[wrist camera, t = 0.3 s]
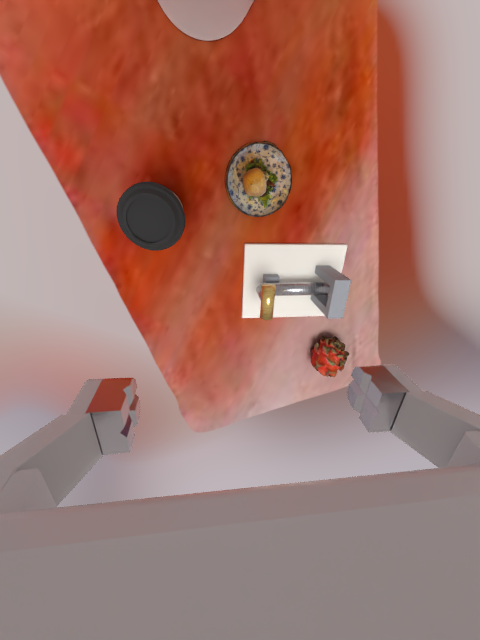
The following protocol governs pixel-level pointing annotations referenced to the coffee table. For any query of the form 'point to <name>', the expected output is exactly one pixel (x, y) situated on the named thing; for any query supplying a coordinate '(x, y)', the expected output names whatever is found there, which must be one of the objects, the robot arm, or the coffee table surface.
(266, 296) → the hook
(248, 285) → the board
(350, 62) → the coffee table surface
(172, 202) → the coffee cup
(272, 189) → the burger
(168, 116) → the coffee table surface
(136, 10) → the coffee table surface
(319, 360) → the dragon fruit
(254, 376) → the coffee table surface
